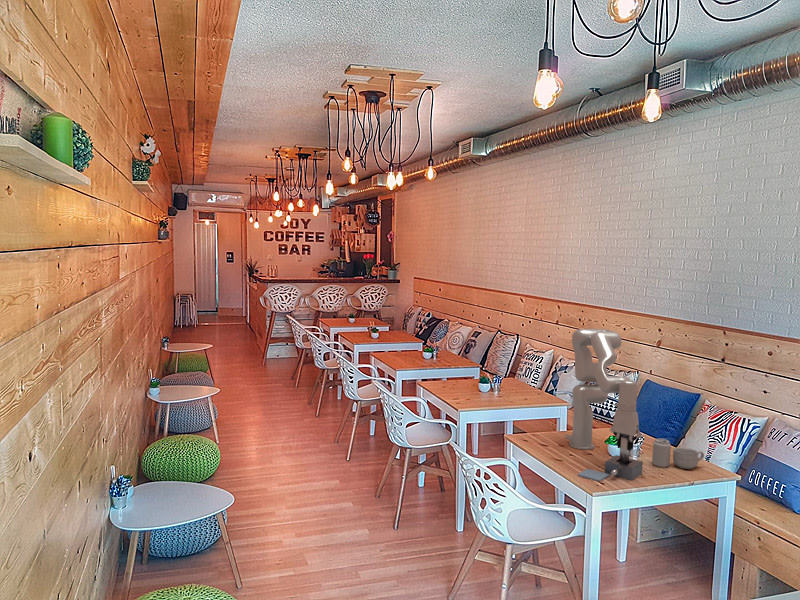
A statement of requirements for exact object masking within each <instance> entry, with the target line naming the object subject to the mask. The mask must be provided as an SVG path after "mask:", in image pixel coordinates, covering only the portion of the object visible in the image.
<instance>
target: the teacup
mask: <svg viewBox="0 0 800 600" xmlns="http://www.w3.org/2000/svg"><path fill="white" fill-rule="evenodd" d="M699 454H701V455H700V457H699ZM704 457H705V453H704V452H703V451H701V450H696V449H693V448H689V447H688V448H686V447H676V448H675V447H674V448H673V449H672V458H673V459H672V461H673V463H674V465H676V466H677V467H678V468H680V469H685V470H692V469H694V468H696V467H697V466H698V463H699V462H700V461H702V460H703V459H704Z"/></svg>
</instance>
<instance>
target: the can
mask: <svg viewBox="0 0 800 600" xmlns="http://www.w3.org/2000/svg"><path fill="white" fill-rule="evenodd" d="M671 448H672V445H671V443H670V441H669V440H668V439H666V438H654V441H653V443H652V456H651V457H652V458H651V459H652V460H651V463H652V464H653V466H655V465H656V466H655V467H657V466H659V467H658V468H663V467H665V468H668V467H669V466H670V463H671V462H670V461H671Z"/></svg>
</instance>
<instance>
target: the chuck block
mask: <svg viewBox="0 0 800 600" xmlns="http://www.w3.org/2000/svg"><path fill="white" fill-rule="evenodd" d="M619 458H620V455H617V454H615V455H614V456H612V457H610V458H609V459H607V460H605V461H604V463H605V464H604V473H606V474H610V475H609V476H612V477H613V476H614V477H617V478H620V477H621V478H620V479H625V480H627V481H628V480H629V481H633V480H635V479H636V478H638V477H640V476H641V475H642V474H643V461H642V460H637V459H634V458H630V457H629V462H628V463H623V462H620V461H619ZM640 474H641V475H640ZM637 476H638V477H637ZM634 478H635V479H634Z"/></svg>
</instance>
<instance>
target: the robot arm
mask: <svg viewBox="0 0 800 600" xmlns="http://www.w3.org/2000/svg"><path fill="white" fill-rule="evenodd" d="M571 344H572V349H573V352H574V374H575V375H574V376H575V379H576V380H577V381H578V382H585V383H586V382H588V383H587V384H585V383H584V384H582V383H581V384H576V385H575V386H574V387H573V389H572V404H573V410H572V411H573V414H572V415H573V416H572V417H573V418H572V433H571V434H572V435H570V434H565V435H564V436H565V437H564V438H565V440H569V441H568V445H570V446H569V447H571V448H574V449H577V450H585V451H588V450H593V449H595V447H596V446H595V443H593V422H594V421H593V420H594V411H593V410H592V409H593V408H592V407H591V406H590V404H603V403H606V402H607V400H608V398H609V394H618V397H617V398H618V400H617V403H615V404H614V407H617V409H615V412H614V415H613V416H614V417H613V422H612V426H611V427H610V429H609V431H610V432H611V433H612V434H613V435H614V436H615V438H616V446H617V449H620V438H621V434H626V435H629V439H630V440H629V442H628V450H629V452H630V451H632V450H633V448H634V441H636V440H638V439H639V438H642V437H643V434H642V433H641V431H640V427H639V425H640V424H639V423H640V422H639V421H640V420H639V415H638V412H637V398H638V396H637V395H638V382H637V381H635V380H633V379H631V378H630V377H628V376H625V375H623V376H622V375H621V376H620V375H619V376H618V375H616V376H614V375H611V376H610V375H609V374H608V370H607V368H608V367H609V366H612V365H613V364H614V363H616V361H617V358H618V357H617V353H616V352H615V350H617V349H619V348H620V347H622V337H621V335H620V333H619V332H617V331H614V330H610V329H605V328H580V329H576V330H575V331H574V332H573V333H572V336H571ZM588 346H589V347H588ZM591 346H592V349H593V351H594V354H595V356H596V359H597V361H598V362H593V354H592V353H593V352H592V350H591V349H590V347H591ZM589 382H590V383H591V384H590V383H589ZM592 382H593V383H595V384H592Z"/></svg>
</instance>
